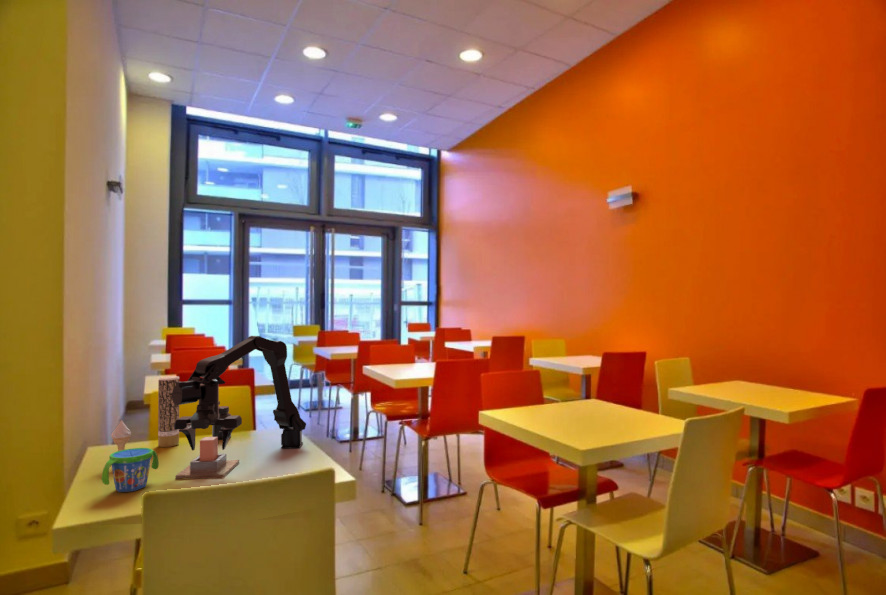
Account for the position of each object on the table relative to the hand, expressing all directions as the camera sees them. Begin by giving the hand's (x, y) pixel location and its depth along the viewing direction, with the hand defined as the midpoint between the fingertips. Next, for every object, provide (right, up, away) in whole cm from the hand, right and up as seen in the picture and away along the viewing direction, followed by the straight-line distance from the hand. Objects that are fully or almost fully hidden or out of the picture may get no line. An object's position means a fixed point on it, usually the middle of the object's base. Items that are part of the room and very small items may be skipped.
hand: (208, 449), depth 159 cm
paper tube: (-28, -7, +29) cm, 41 cm away
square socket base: (0, -7, 0) cm, 7 cm away
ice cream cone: (-30, -7, +5) cm, 31 cm away
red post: (0, -6, 0) cm, 6 cm away
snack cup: (-15, -7, -15) cm, 22 cm away
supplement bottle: (-13, -7, +39) cm, 42 cm away
